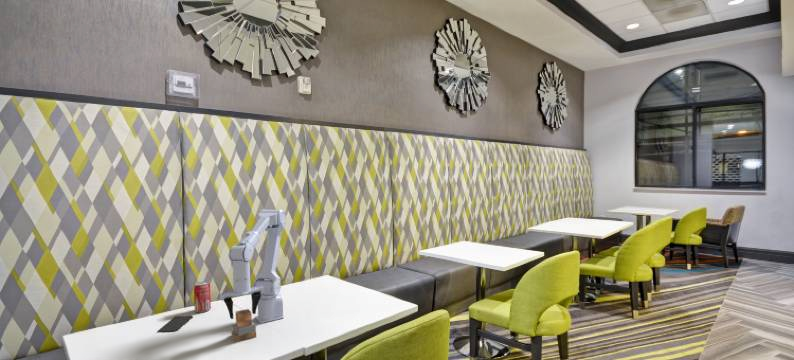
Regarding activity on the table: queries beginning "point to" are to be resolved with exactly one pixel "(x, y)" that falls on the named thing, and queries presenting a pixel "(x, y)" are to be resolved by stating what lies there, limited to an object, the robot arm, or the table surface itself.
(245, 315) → the terracotta block
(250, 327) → the tower top
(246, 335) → the tower base
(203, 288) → the soda can
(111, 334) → the table surface
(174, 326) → the phone
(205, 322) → the table surface
